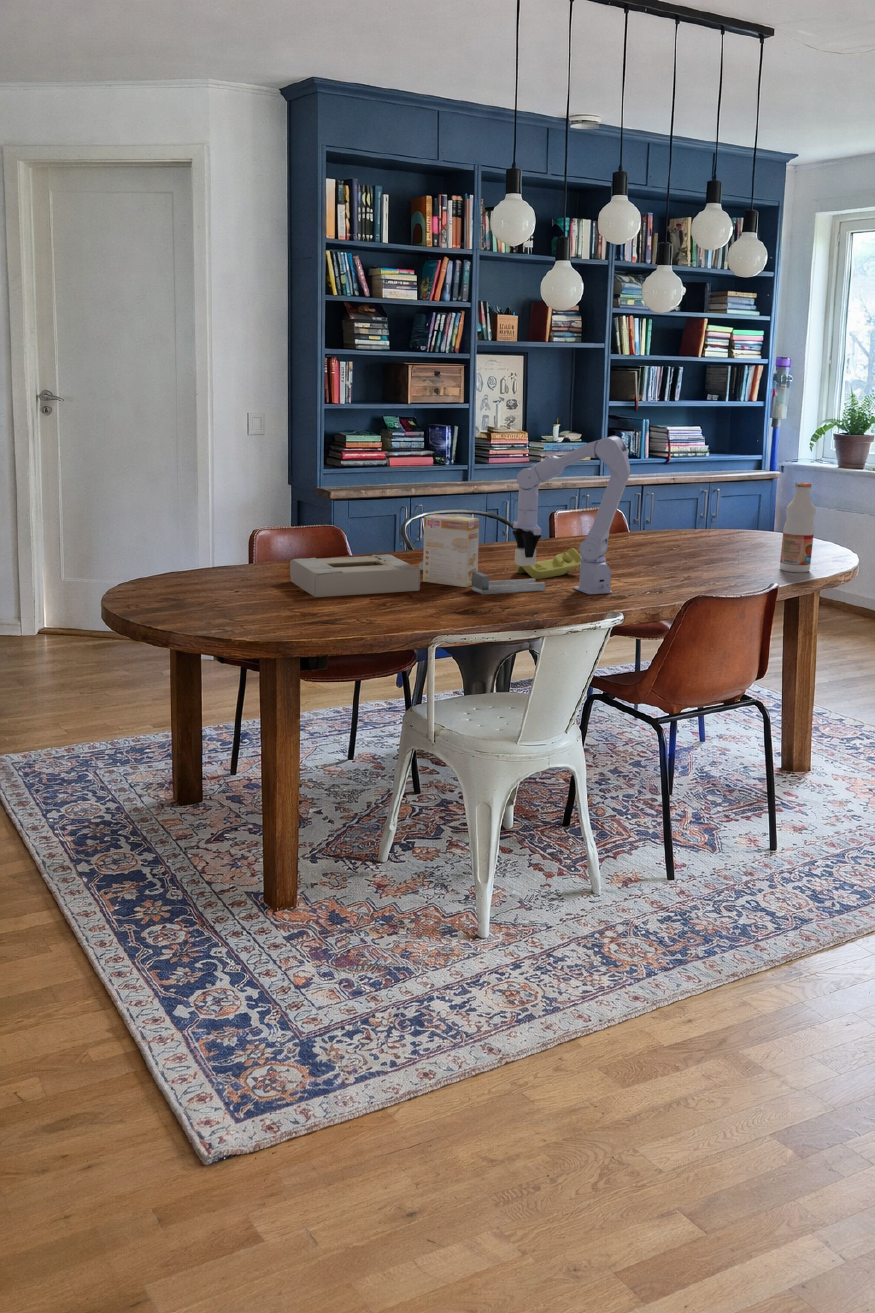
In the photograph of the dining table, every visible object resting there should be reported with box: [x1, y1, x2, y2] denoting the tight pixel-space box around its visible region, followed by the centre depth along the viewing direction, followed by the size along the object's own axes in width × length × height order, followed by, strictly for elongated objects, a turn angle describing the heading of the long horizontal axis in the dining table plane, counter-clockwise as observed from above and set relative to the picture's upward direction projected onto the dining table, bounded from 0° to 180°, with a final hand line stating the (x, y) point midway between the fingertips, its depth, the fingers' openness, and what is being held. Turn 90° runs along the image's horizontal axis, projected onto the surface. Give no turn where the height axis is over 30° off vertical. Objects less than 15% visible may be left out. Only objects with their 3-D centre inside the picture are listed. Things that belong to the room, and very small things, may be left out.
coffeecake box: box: [422, 513, 480, 588], centre depth 344 cm, size 15×7×20 cm, turn 59°
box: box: [289, 554, 421, 598], centre depth 338 cm, size 23×8×32 cm
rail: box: [471, 571, 546, 595], centre depth 337 cm, size 7×20×5 cm, turn 113°
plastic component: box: [515, 547, 581, 580], centre depth 363 cm, size 20×7×10 cm
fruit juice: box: [779, 481, 816, 573], centre depth 376 cm, size 9×9×28 cm
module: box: [514, 547, 537, 566], centre depth 345 cm, size 4×5×5 cm
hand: (525, 556), depth 345 cm, fingers closed on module, 4 cm apart
